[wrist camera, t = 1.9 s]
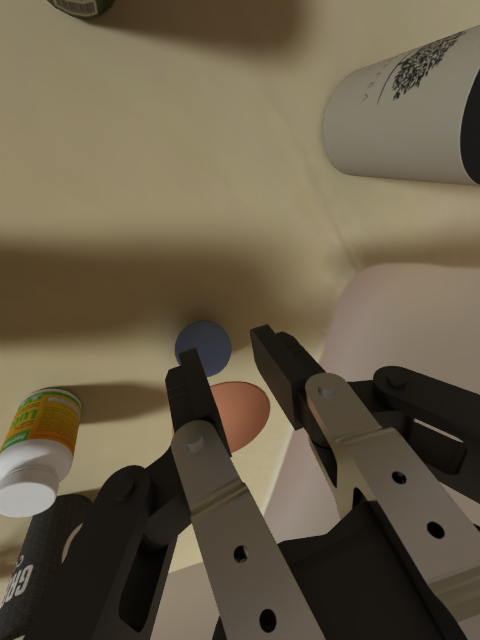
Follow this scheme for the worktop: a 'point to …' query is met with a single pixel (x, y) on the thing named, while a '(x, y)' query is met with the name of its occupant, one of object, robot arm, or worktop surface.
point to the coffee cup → (40, 562)
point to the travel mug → (411, 115)
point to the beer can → (82, 7)
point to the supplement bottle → (38, 452)
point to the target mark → (240, 412)
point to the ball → (205, 345)
